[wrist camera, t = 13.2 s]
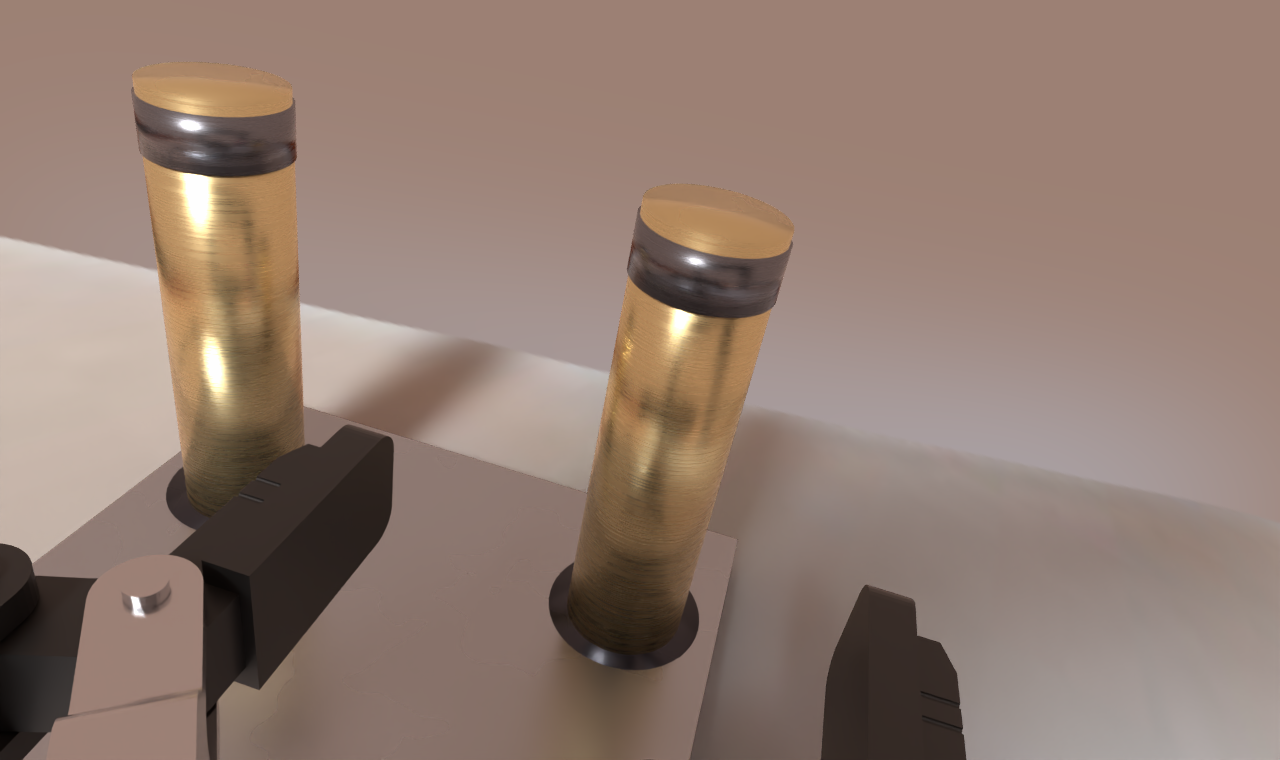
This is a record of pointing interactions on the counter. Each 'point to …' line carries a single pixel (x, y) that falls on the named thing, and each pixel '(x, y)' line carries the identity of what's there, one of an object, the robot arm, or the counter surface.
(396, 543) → the flange plate
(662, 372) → the loose brass leg
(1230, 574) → the counter surface
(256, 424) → the fixed brass leg
